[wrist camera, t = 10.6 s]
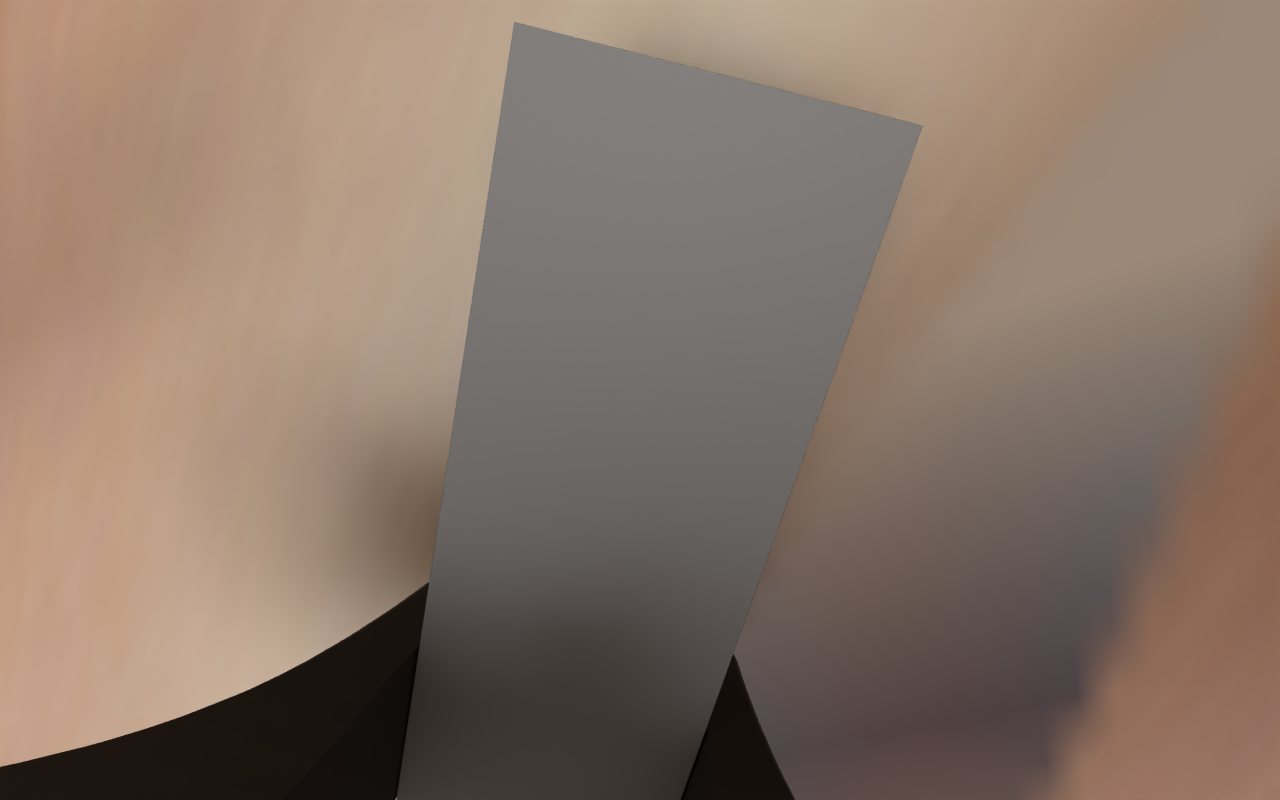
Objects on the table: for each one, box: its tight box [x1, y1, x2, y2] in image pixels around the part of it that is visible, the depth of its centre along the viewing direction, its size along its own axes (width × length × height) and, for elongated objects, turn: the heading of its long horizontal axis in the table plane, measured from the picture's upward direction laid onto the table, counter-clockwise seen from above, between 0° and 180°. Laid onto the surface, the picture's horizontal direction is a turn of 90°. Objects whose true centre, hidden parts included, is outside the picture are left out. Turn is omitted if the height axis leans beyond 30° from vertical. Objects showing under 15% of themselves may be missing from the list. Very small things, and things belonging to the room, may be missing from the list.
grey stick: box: [396, 22, 923, 800], centre depth 13 cm, size 4×18×5 cm, turn 166°
